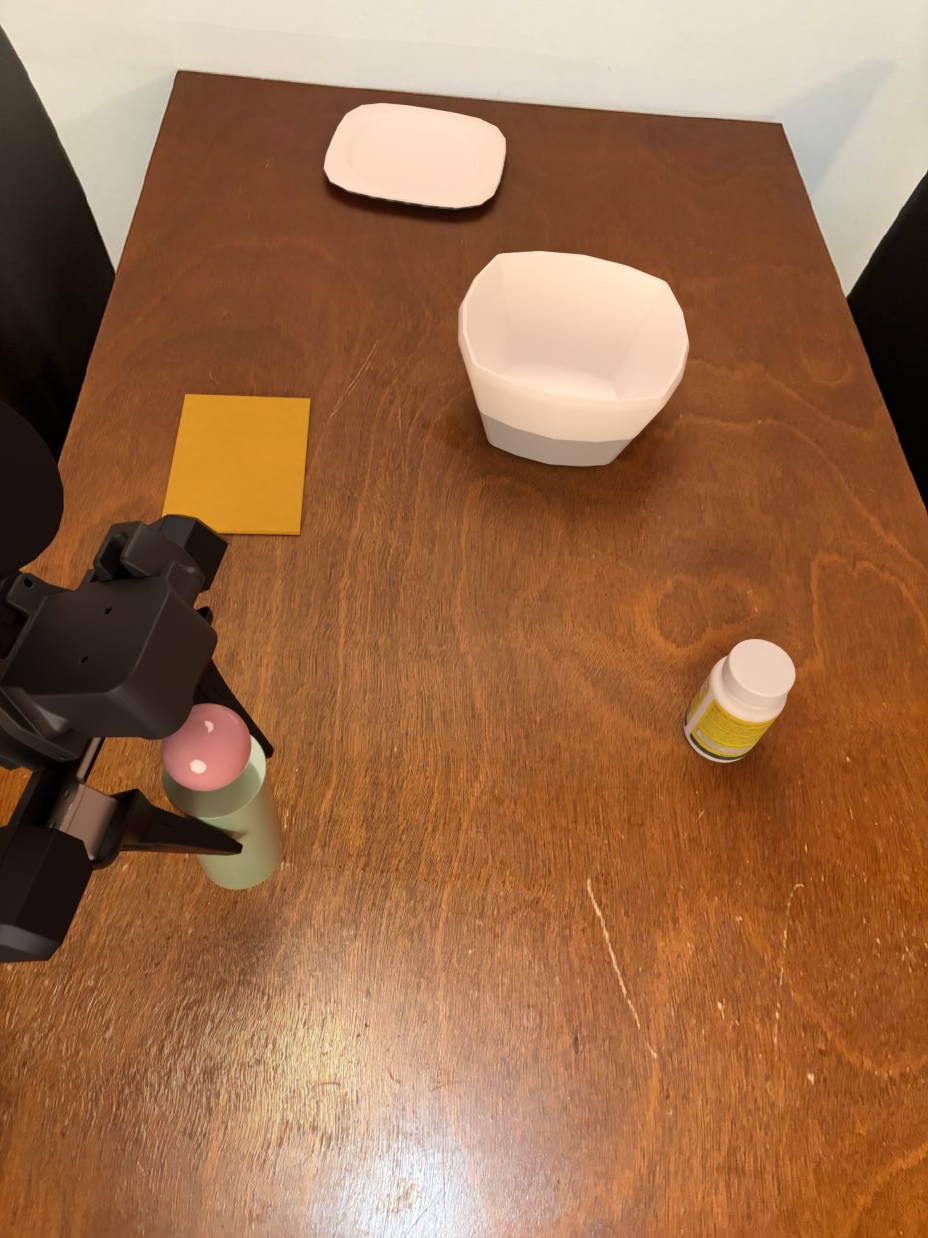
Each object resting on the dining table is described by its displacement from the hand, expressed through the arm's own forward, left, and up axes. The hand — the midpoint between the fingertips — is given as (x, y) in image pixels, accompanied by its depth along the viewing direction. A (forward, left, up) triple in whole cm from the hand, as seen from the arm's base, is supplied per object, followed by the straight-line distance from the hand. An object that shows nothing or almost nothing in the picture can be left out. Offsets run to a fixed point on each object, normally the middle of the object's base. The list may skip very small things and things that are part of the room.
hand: (252, 802), depth 41 cm
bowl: (+42, +12, -13) cm, 46 cm away
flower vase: (-1, +1, -7) cm, 7 cm away
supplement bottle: (+26, -14, -13) cm, 32 cm away
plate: (+61, +45, -13) cm, 77 cm away
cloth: (+20, +26, -12) cm, 35 cm away
